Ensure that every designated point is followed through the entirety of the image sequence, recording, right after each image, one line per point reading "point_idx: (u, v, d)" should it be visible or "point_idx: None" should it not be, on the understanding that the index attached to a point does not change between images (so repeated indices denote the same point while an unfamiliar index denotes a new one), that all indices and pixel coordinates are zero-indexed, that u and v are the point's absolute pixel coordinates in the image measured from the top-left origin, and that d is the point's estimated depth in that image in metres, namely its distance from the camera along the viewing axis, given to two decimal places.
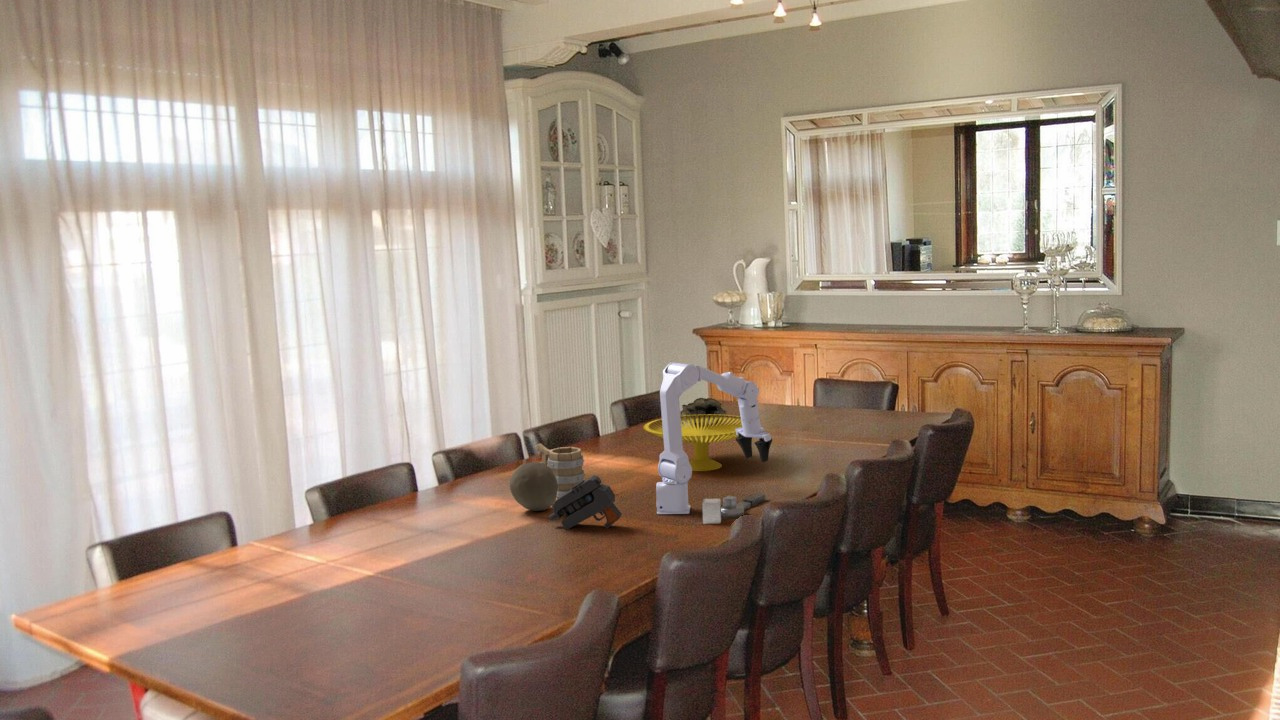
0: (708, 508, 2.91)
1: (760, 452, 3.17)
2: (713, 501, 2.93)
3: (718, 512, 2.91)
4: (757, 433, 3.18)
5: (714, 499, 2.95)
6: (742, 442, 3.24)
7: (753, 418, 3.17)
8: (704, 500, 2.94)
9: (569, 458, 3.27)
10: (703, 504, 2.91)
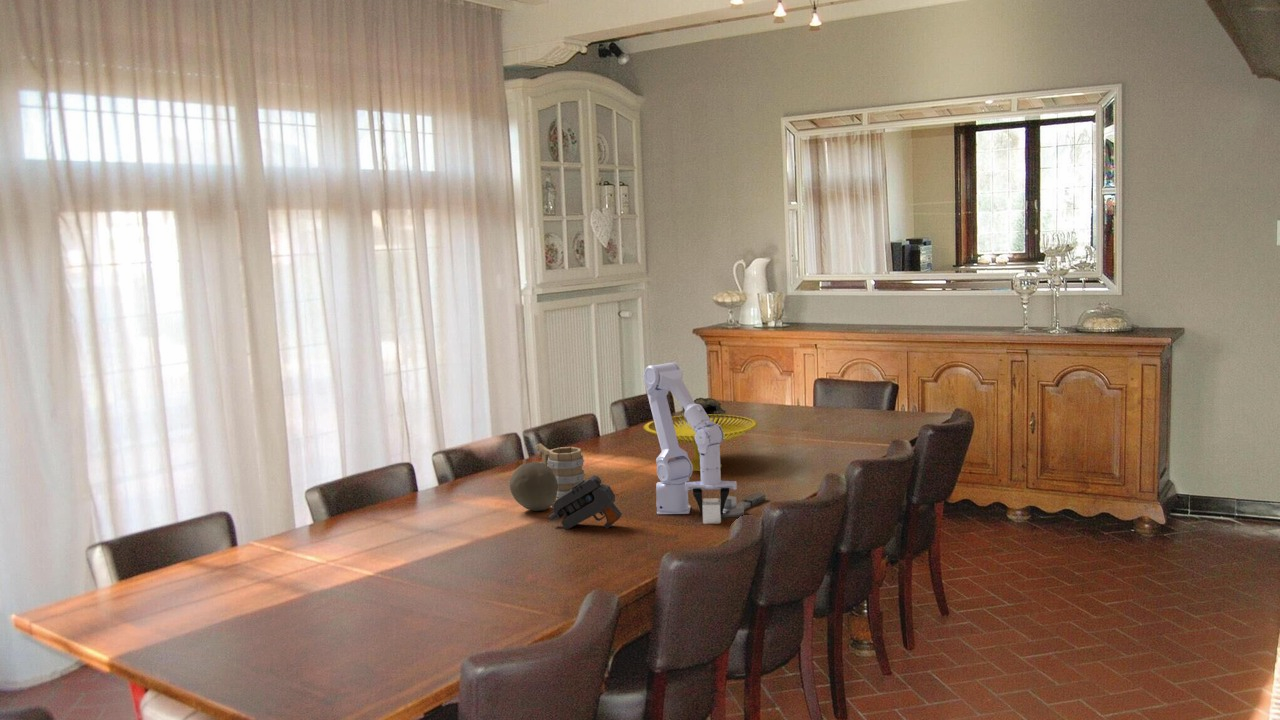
0: (708, 508, 2.91)
1: None
2: (713, 501, 2.93)
3: (718, 512, 2.91)
4: (700, 482, 2.94)
5: (714, 499, 2.95)
6: None
7: (701, 467, 2.91)
8: (704, 500, 2.94)
9: (569, 458, 3.27)
10: (703, 504, 2.91)
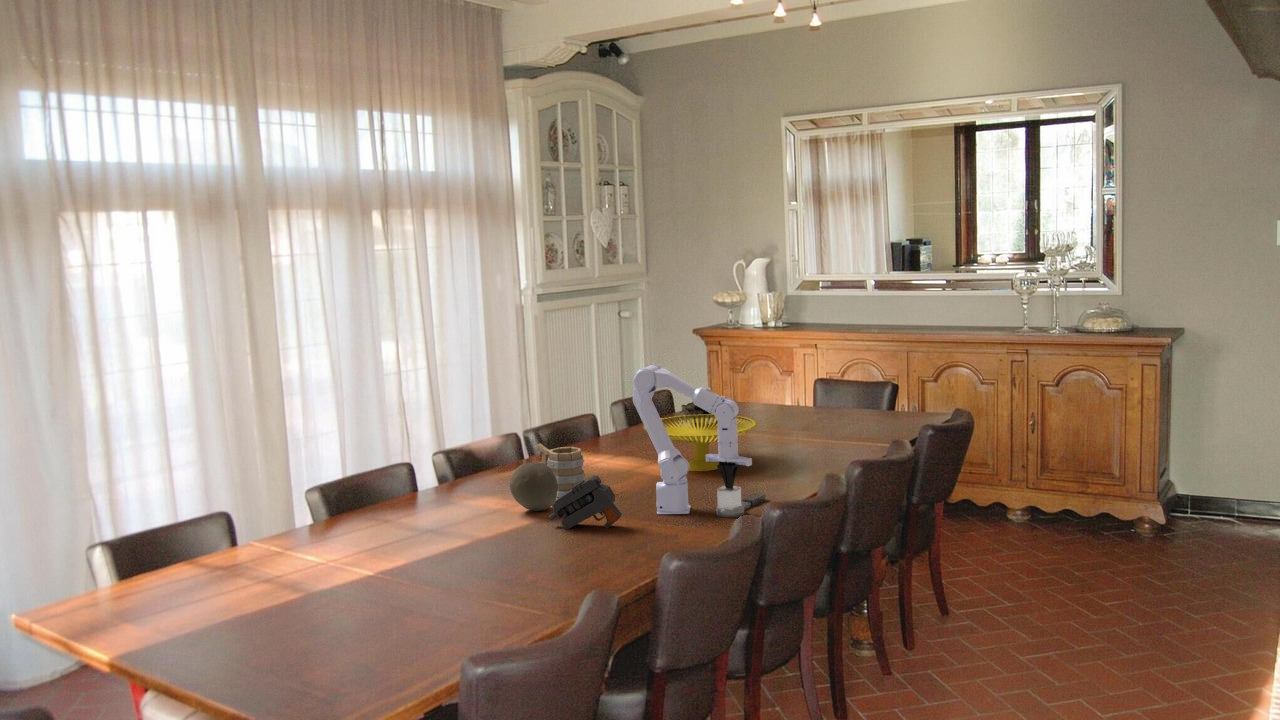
0: (721, 494, 2.98)
1: None
2: (728, 488, 2.98)
3: (730, 499, 2.97)
4: None
5: (733, 486, 3.00)
6: None
7: (722, 441, 2.96)
8: (723, 486, 3.01)
9: (569, 458, 3.27)
10: (718, 490, 2.99)
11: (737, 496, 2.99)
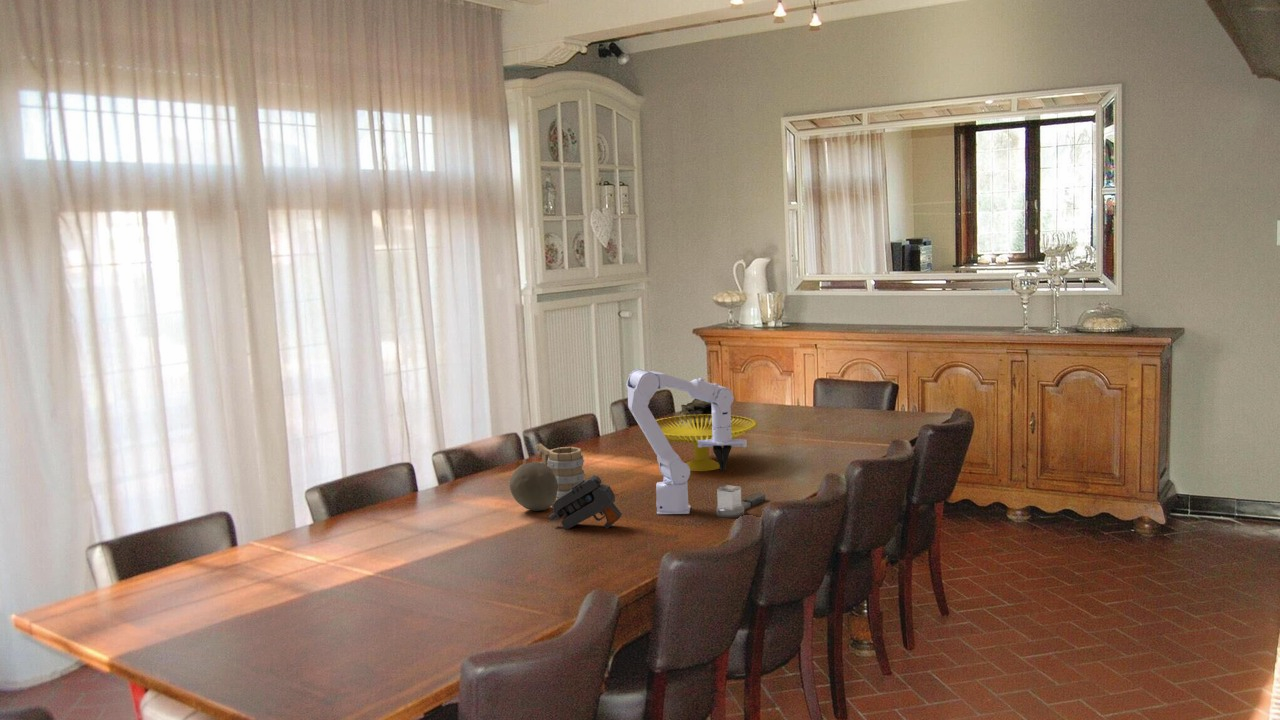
0: (721, 494, 2.98)
1: None
2: (728, 488, 2.98)
3: (730, 499, 2.97)
4: (712, 440, 3.10)
5: (733, 486, 3.00)
6: None
7: (722, 426, 3.06)
8: (723, 486, 3.01)
9: (569, 458, 3.27)
10: (718, 490, 2.99)
11: (737, 496, 2.99)
